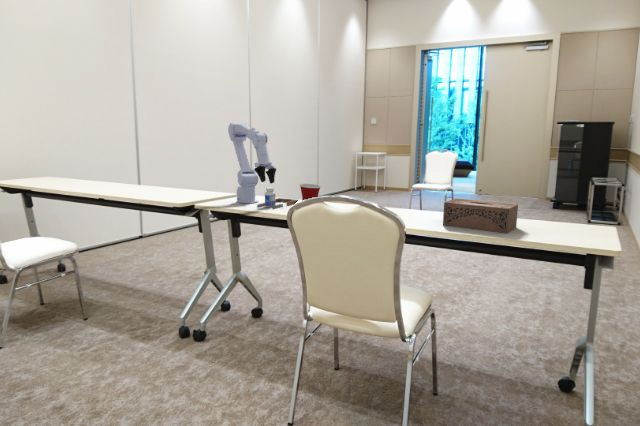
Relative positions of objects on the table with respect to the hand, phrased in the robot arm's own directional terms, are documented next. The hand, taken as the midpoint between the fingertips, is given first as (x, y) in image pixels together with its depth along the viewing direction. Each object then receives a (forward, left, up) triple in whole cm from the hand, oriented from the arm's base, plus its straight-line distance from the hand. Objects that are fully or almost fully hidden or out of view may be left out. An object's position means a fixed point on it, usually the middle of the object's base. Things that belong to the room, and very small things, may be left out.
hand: (268, 182), depth 228 cm
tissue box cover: (+100, +7, -14) cm, 101 cm away
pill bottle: (-2, +5, -13) cm, 14 cm away
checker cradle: (-2, +5, -13) cm, 14 cm away
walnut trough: (-2, +18, -13) cm, 22 cm away
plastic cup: (+18, +11, -13) cm, 25 cm away
